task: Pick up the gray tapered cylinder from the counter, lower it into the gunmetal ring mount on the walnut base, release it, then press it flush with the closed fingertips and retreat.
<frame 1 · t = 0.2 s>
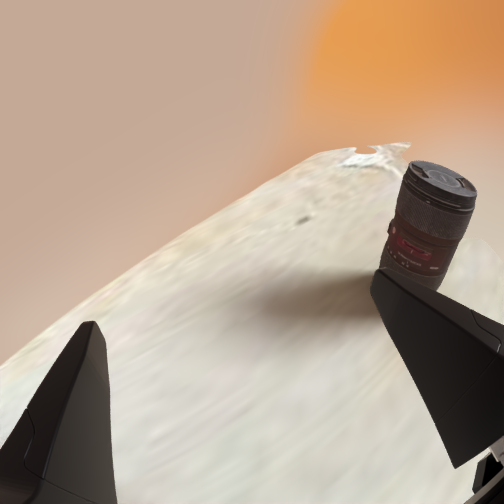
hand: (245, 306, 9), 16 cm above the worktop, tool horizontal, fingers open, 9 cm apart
camera lens: (402, 293, 33), on the worktop
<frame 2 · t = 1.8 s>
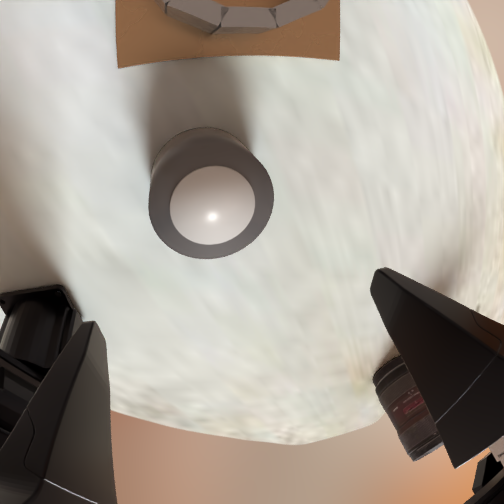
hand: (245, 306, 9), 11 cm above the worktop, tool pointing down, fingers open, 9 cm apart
gray tapered cylinder: (202, 177, 17), on the worktop
camera lens: (390, 367, 40), on the worktop
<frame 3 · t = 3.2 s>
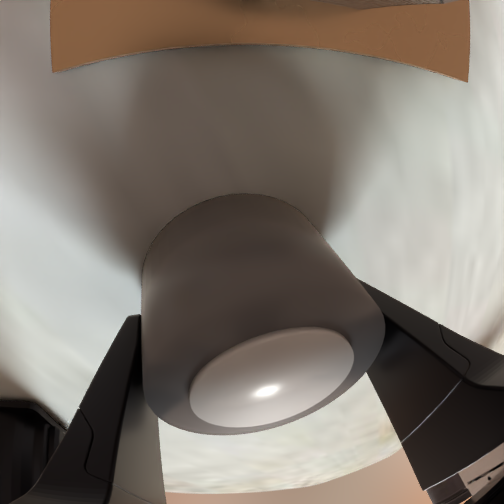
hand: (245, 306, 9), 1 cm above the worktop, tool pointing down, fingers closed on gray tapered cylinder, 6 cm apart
gray tapered cylinder: (235, 280, 10), on the worktop, touching gripper
camera lens: (419, 416, 33), on the worktop
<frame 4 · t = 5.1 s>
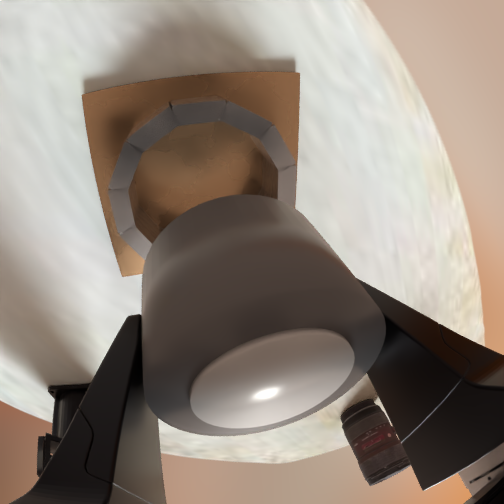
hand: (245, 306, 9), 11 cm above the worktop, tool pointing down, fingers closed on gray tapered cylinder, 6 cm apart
gray tapered cylinder: (236, 280, 10), point 10 cm above the worktop, touching gripper
camera lens: (356, 408, 47), on the worktop
ring mount: (198, 175, 18), on the worktop
when the fingers open (4 cm above the worktop, at t = 7.1 s): gray tapered cylinder drops 2 cm, resting on ring mount.
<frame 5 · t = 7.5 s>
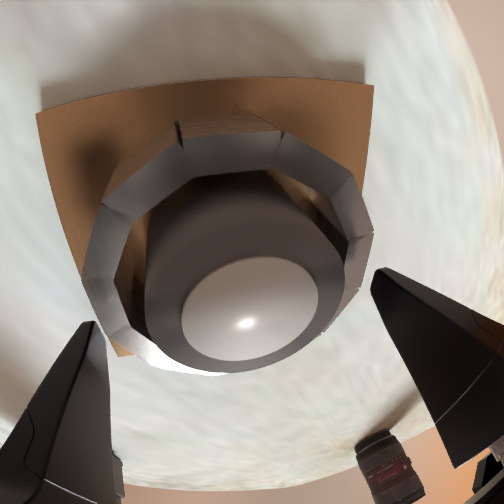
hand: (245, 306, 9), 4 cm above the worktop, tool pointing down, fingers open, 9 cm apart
gray tapered cylinder: (224, 240, 12), point 1 cm above the worktop, touching ring mount
camera lens: (370, 438, 42), on the worktop
ring mount: (219, 232, 12), on the worktop
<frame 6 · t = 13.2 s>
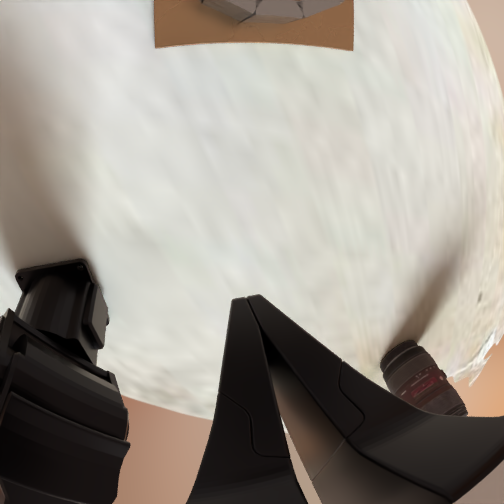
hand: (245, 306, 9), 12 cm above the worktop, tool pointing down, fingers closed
camera lens: (396, 353, 41), on the worktop
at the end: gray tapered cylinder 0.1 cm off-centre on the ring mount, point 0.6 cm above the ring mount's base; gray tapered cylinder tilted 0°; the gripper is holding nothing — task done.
